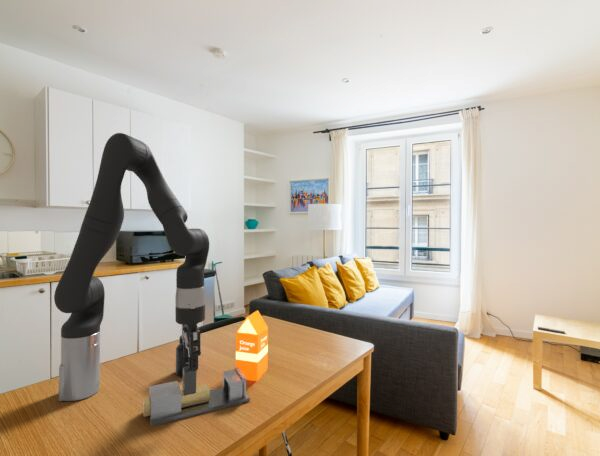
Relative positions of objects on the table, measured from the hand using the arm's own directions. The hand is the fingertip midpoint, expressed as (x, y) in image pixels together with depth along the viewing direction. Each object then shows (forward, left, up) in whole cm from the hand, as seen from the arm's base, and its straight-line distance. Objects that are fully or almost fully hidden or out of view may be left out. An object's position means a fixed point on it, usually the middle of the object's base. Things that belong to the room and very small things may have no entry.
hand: (190, 363), depth 86 cm
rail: (+3, 0, -12) cm, 12 cm away
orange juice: (+21, +11, -12) cm, 27 cm away
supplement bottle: (+2, +21, -12) cm, 24 cm away
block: (-3, 0, -10) cm, 11 cm away
